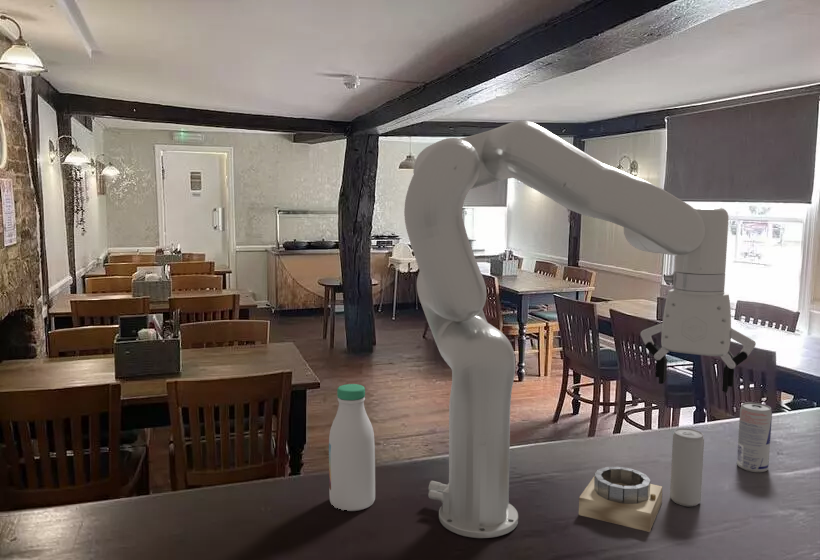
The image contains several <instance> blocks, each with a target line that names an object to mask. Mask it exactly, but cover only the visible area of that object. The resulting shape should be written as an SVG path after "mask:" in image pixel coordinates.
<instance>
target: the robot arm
mask: <svg viewBox="0 0 820 560" xmlns="http://www.w3.org/2000/svg"><path fill="white" fill-rule="evenodd" d="M508 179H515V180H516V181H519V182H520V183H522V184H524V185H525V186H528V187H529V188H531V189H533V190H535V191H537V192H539V193H540V194H541V195H544V196H545V197H547V198H549V199H550V200H552V201H553V202H555V203H557V204H559V205H561V206H562V207H564V208H565V209H568V210H570V211H571V212H574V213H577V214H580V215H582V216H585V217H588V218H592V219H598V220H602V221H605V222H609V223H612V224H615V225H617V226H620V227H623V235H624V238H625V240H626V241H627V242H628V243H629V244H630V245H631V246H632V247H633V248H635V249H636V250H639V251H642V252H647V253H652V254H663V255H669V256H675V257H674V258H675V259H674V271H673V273H670V274H665V275H664V283H665V284H666V283H668V284H671V286H672V288H673V289H670V290H668V291H667V295H666V297H665V298H666V299H665V303H664V310H663V317H662V322H661V323H659V324H656V325H653V326H650V327H648V328H645V329H643V330H642V331H640V337H641V339H642V342H643V343H644V345H645V348H646V349H647V350H648V351H649V352H650V353H651V355H652V356H653V357H654V360H655V378H658V384H660V385H661V384H665V382H666V381H667V369H668V358H667V356H666V355H667V354H668V353H669V352H671V353H672V352H673V353H679V354H688V355H689V354H690V355H697V356H707V357H720V358H721V360H722V361H723V362H724V367H723V373H722V390H721V391H722V392H723V393H728V391H729V387H731V388H733V387H734V381H735V380H734V379H735V369H736V367H737V366H738V365H740V364H742V363H743V362H744V361H745V360H747V359H748V357H749V355H750V354H751V353H752V352H753V350H754V349H755V347H756V343H757V342H756V341H754V340H753V339H751V338H750V337H748V336H747V335H744V334H743V333H741V332H739V331H738V330H736V329H734V328H732V316H731V314H732V312H731V302H730V301H731V300H730V295H729V294H730V293H728V292H725V287H726V286H725V284H726V266H727V265H726V264H727V248H728V236H729V235H728V234H729V214H728V212H727V210H726V209H725V208H722V207H719V206H717V207H716V206H691V205H690V204H689V203H686V202H685V201H684V200H682V199H680V198H678V197H677V196H675V195H674V194H672V193H670V192H668V191H666V190H665V189H663V188H661V187H659V186H658V185H655V184H653V183H651V182H649V181H647V180H644V179H642V178H639V177H637V176H634V175H633V174H630V173H628V172H625V171H623V170H621V169H618V168H616V167H614V166H611V165H608V164H606V163H603V162H601V161H600V160H598V159H596V158H594V157H592V156H591V155H589V154H588V153H586V152H585V151H582V150H581V149H579V148H577V147H576V146H574V145H573V144H571V143H569V142H568V141H566V140H564V139H562V138H561V137H559V136H558V135H556V134H554V133H552V132H551V131H549V130H548V129H547V128H544V127H542V126H540V125H539V124H537V123H535V122H533V121H530V120H522V119H521V120H515V121H511V122H509V123H506V124H503V125H501V126H498V127H496V128H492V129H490V130H486V131H483V132H480V133H477V134H472V135H468V136H464V137H460V138H457V137H449V138H444V139H441V140H439V141H437V142H433V143H432V144H430V145H428V146H426V147H425V148H424V149H422V151H420V152H419V154H418V155H417V156H416V159H415V161H414V164H413V175H412V177H411V180H410V181H409V185H408V188H407V191H406V195H405V201H404V211H403V212H404V223H405V224H404V225H405V228H406V233H407V237H408V240H409V242H410V246H411V248H412V251H413V255H414V258H415V261H416V264H417V266H418V270H419V272H418V275H417V277H416V278H417V279H416V291H417V296H418V299H419V302H420V304H421V308H422V310H423V313H424V315H425V319H426V321H427V323H428V326H429V328H430V331H431V334H432V337H433V339H434V341H435V346H437V349H438V351H439V354H440V356H441V357H442V359H443V360H444V362H445V363H446V364H447V366H449V368H450V369H451V373H452V374H451V387H450V388H451V389H450V394H449V407H448V408H449V409H448V429H449V430H448V483H447V484H445V483H442V482H440V481H435V480H430V481H429V485H428V498H429V499H430V500H435V501H436V500H437V501H440V502H441V503H442V505H441V506H440V507H439V510H438V519H439V522H440V524H441V525H442V526H443V527H444V528H445V529H447V530H448V531H450V532H452V533H454V534H457V535H459V536H463V537H468V538H474V539H491V538H498V537H502V536H504V535H506V534H509V533H511V532H512V531H514V529H515V528H517V526H518V524H519V512H518V510H517V509H516V508H515V506H513V505H512V504H511V503H510V502H509V501H510V500H509V498H510V496H509V495H510V492H509V491H510V453H511V452H510V450H511V449H510V448H511V447H510V444H511V442H510V441H511V435H510V434H511V405H512V404H511V403H512V400H511V399H512V392H513V385H514V379H515V373H516V354H515V350H514V348H513V345H512V343H511V341H510V340H509V338H508V337H507V336H506V334H504V333H503V332H502V331H501V330H500V329H498V328H496V327H495V326H493V325H492V324H491V323H489V322H488V321H487V318H486V316H485V313H484V312H485V311H484V310H483V309H484V307H485V305H486V301H487V295H488V294H487V286H486V283H485V279H484V277H483V275H482V272H481V269H480V267H479V265H478V262H477V260H476V256H475V254H474V250H473V248H472V245H471V243H470V241H469V236H468V234H467V230H466V226H465V222H464V218H463V217H464V216H463V209H464V203H465V200H466V197H467V195H468V194H469V192H470V191H471V190H472V189H473V190H474V189H477V188H480V187H484V186H487V185H488V186H489V185H491V184H495V183H498V182H501V181H504V180H508ZM659 333H661V340H660V341H661V342H660V343H661V345H660V346H661V347H659V346H658V345H657V344H656V343H655V342H654V341H653V338H652V336H654V335H657V334H659ZM731 339H732V340H733V341H735V342H737V343H739V344H741V345H742V346H743V347H742V349H741V350H740V351H739V352H738V353H736V354H735V355H733V354H732V352H731V351H730V347H731Z"/></svg>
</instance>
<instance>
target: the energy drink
mask: <svg viewBox="0 0 820 560" xmlns="http://www.w3.org/2000/svg"><path fill="white" fill-rule="evenodd" d="M772 421H773V412H772V407H771V406H769V405H767V404H763V403H760V402H751V401H749V402H743V403H741V406H740V409H739V423H738V424H739V425H738V439H737V440H738V441H737V455H736V464H737V466H738V467H739V468H740V469H742V470H744V471H747V472H752V473H765V472H766V471H768V470H769V467H770V465H769V463H770V452H771V451H770V450H771V435H772V423H773V422H772Z"/></svg>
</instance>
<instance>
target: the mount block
mask: <svg viewBox="0 0 820 560" xmlns="http://www.w3.org/2000/svg"><path fill="white" fill-rule="evenodd" d="M594 477H595V475H593V477H592V479H590V482H589V483H588V484H587V486H586V487H585V488H584V490H583V491H582V493H581V494H580V495H579V498H578V516H582V517H585V518H590V519H594V520H599V521H603V522H607V523H609V524H611V523H612V524H615V525H620V526H623V527H627V528H631V529H635V530H640V531H643V532H648V533H650V532H651V531H652V527H653V525H654V523H655V521H656V518H657V516H658V513H659V512H660V511H659V510H660V508H661V507H662V504H663V485H662V486H661V485H658V484H652V483H650V496H649V498H648V500H647V501H644V502H641V503H637V504H624V503H623V504H622V503H618V502H613V501H609V500H607V499H605V498H603V497H601V496H599V495H598V494H597V493H596V491H595V490H594ZM612 484H617V485H622V486H631V485H627V484H622V483H612Z"/></svg>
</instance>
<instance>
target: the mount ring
mask: <svg viewBox="0 0 820 560" xmlns="http://www.w3.org/2000/svg"><path fill="white" fill-rule="evenodd" d="M594 476H595V477H594ZM594 476H593V477H594V490H595V491H596V493H597V494H598V495H599V496H601V497H603V498H605V499H607V500H609V501H613V502H618V503H622V504H623V503H624V504H637V503H641V502H644V501H647V500H648V498H649V496H650V484H651V482H652V481H651V479H650V477H649V476H648V475H647V474H646V473H644V472H642V471H640V470H637V469H633V468H631V467H630V468H629V467H624V466H605V467H601V468H598V469H597V470H596V472H595V473H594ZM612 483H622V484H627V485H631V486H622V485H617V484H612Z"/></svg>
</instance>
